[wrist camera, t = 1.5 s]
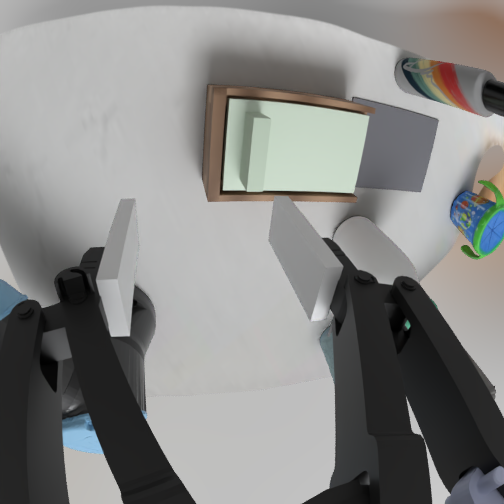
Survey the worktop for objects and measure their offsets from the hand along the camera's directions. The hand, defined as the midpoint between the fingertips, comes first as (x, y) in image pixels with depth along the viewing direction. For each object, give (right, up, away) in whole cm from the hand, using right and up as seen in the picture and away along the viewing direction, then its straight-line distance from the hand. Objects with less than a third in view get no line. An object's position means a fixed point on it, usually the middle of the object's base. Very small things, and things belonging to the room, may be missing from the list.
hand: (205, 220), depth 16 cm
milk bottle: (+19, +1, +33) cm, 38 cm away
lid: (+7, +10, +17) cm, 21 cm away
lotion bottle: (+25, +24, +20) cm, 40 cm away
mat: (+23, +14, +26) cm, 37 cm away
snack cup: (+44, +7, +36) cm, 57 cm away
